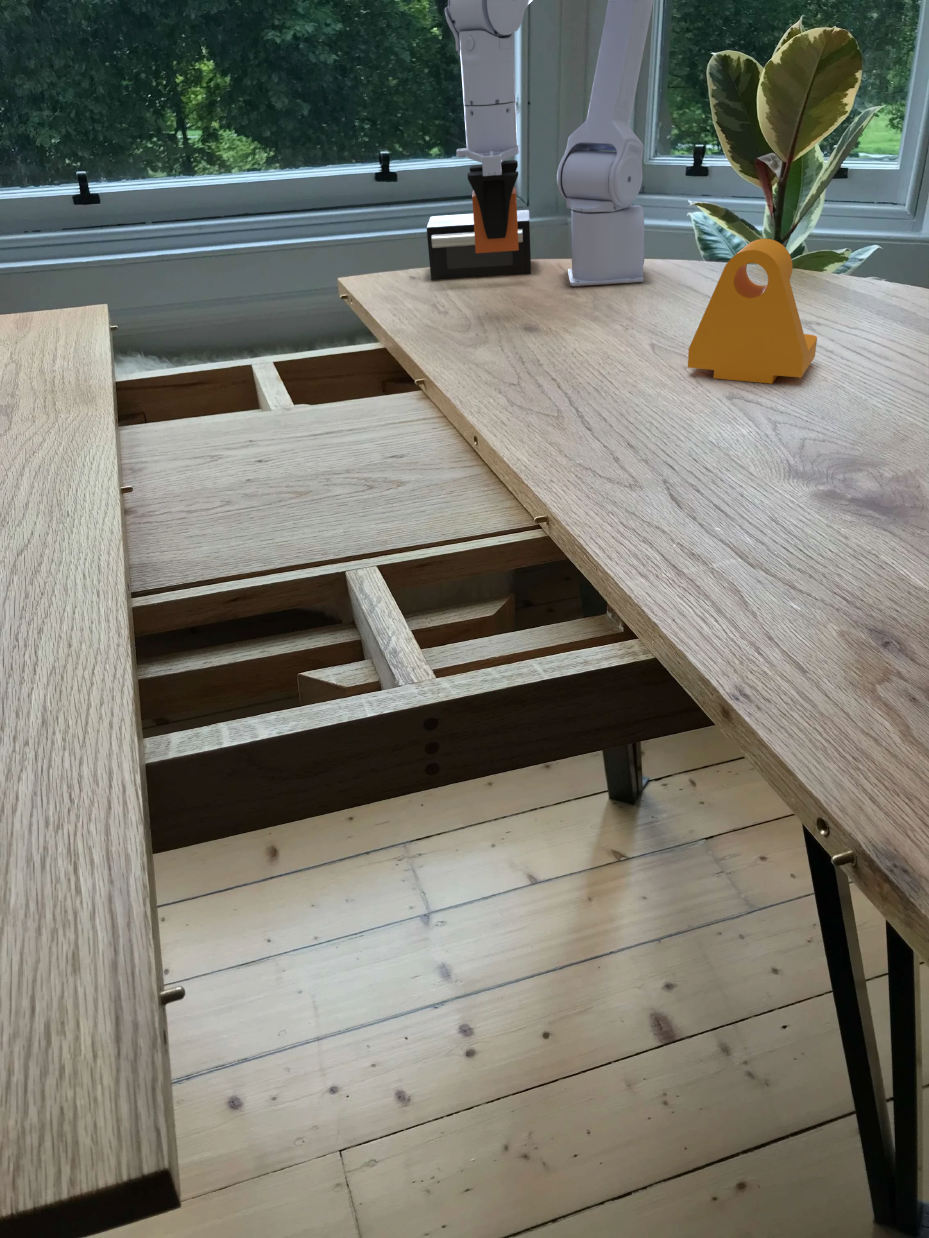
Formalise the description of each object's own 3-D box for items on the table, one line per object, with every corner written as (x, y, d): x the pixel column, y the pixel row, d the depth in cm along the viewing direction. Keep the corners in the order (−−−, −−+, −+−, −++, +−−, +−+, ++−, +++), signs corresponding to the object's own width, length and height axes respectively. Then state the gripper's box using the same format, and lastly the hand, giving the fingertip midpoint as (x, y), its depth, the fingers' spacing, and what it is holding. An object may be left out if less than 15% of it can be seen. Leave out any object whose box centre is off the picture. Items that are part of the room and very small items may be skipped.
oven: (530, 261, 142) (528, 209, 139) (531, 283, 131) (529, 228, 127) (435, 267, 143) (430, 216, 140) (428, 290, 132) (423, 235, 128)
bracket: (815, 362, 96) (831, 234, 90) (800, 386, 91) (815, 252, 85) (708, 353, 101) (715, 231, 95) (687, 375, 96) (694, 248, 89)
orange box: (518, 242, 117) (515, 186, 114) (518, 250, 113) (516, 193, 110) (476, 245, 117) (473, 190, 114) (475, 253, 114) (472, 196, 110)
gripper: (456, 100, 114) (464, 223, 121) (450, 112, 101) (460, 249, 109) (516, 95, 113) (521, 219, 120) (518, 107, 101) (523, 245, 108)
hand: (496, 233), depth 114 cm, fingers closed on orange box, 4 cm apart
